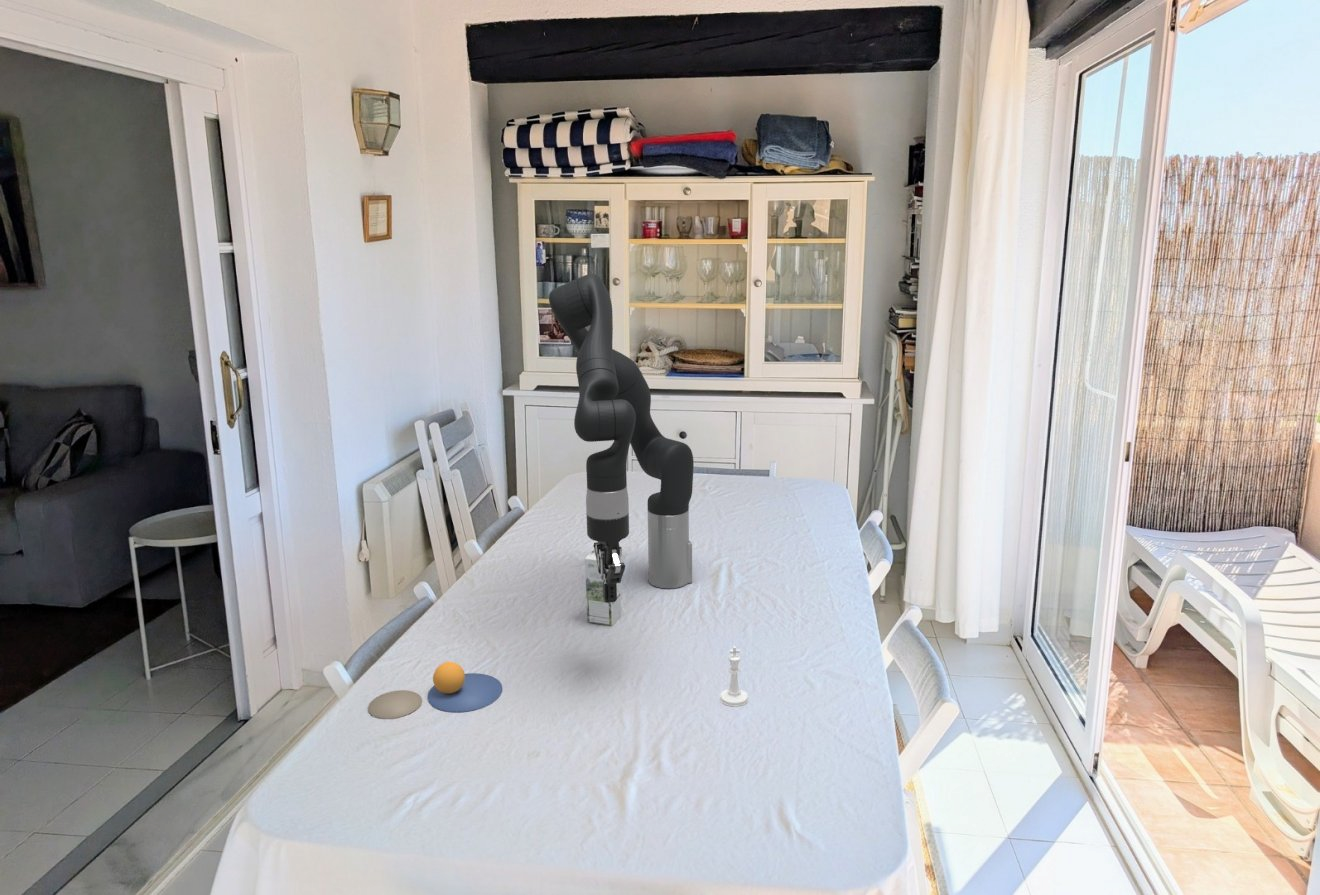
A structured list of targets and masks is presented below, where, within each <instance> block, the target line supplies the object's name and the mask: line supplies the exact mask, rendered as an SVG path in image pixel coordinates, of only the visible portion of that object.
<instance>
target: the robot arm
mask: <svg viewBox="0 0 1320 895" xmlns="http://www.w3.org/2000/svg"><path fill="white" fill-rule="evenodd" d="M548 302H549V305H550V309H551V311H552V313H553V316H554V317H555V319H556V321H557V322H558V323H559V325H560V327H561V329H562V330H563V332H564V333H565V335H566V336H567V337H568V339H569V340H570V342H571V343H572V345H573V346H574V347H575V349H576V351H577V352H578V353H577V358H576V363H575V369H576V370H575V371H576V376H577V377H576V378H577V383H578V391H579V392H578V393H579V394H578V395H579V396H578V401H577V402H578V403H577V405H576V410H575V415H574V420H573V421H574V430H575V431H574V432H576V435H577V436H578V437H579V439H581V440H582V441H585V442H587V443H589V442H590V443H594V442H596V443H597V442H609V441H610V442H611V441H613V442H612V444H611V445H610V447H608V448H606V449H604V450H600V451H597V452H595V453H591V454H590V455H589V456H588V457H587V458H586V464H585V466H586V468H585V469H586V493H585V494H586V495H585V496H586V497H585V508H586V509H585V510H586V535H587V537H588V538H589V539H590V540H592V541H595V542H593V545H592V546H593V548H594V549H593V550H595V555H596V560H597V565H598V572H599V574H601V579H602V581H603V598H604V600H605V602H607V603H609V602H615V601H616V600H617V583H622V579H623V576H624V573H625V570H626V564H625V562H622V561H621V560H622V559H621V558H622V556H623V549H622V546H620V542H621V541H622V540H625V539H627V537H628V536H629V534H630V517H629V516H630V515H629V514H630V513H629V512H630V511H629V510H630V509H629V508H630V507H629V506H630V505H629V504H630V502H629V493H628V485H627V482H628V481H627V479H628V478H627V463H628V462H627V461H628V460H627V459H628V454H629V449H630V446H631V448H632V451H633V453H634V455H635V458H636V460H637V462H638V464H639V466H640V468H641V469H642V471H643V472H644V473H645V474H646V475H647V476H649V477H652V478H654V479H656V480H660V491H658V492H655V493H652V494H651V495H649V497H648V498H647V504H646V505H647V552H648V553H647V554H648V555H647V556H648V557H647V560H648V563H647V564H648V572H647V573H648V582H649V584H650V585H652V586H654V587H656V588H660V589H677V588H682V587H684V586H686V585H688V584H691V583H693V543H692V542H691V541H690V510H689V509H690V502H691V498H692V495H693V485H694V466H695V465H694V455H693V452H692V449H691V448H690V447H691V446H689V445H688V444H687V443H685V442H683V441H678V440H676V439H675V440H674V439H671V438H667V437H665V436H664V435H663V434H662V433H661V432H660V430H659V428H658V427H657V425H656V424H655V422H654V420H653V418H652V416H651V404H652V395H651V394H652V393H651V390H650V387H649V385H648V382H647V381H646V379H645V377H644V375H643V373H642V371H641V369H640V367H639V366H638V365H637V364H636V362H635V361H634V360H633V359H631V358H630V357H629V356H627V355H625V354H623V353H621V352H619V351H617V349H616V350H615V349H614V348H613V338H614V337H613V334H614V333H613V331H614V330H613V329H614V328H613V327H614V325H613V324H614V322H613V315H614V314H613V306H612V304H613V303H612V300H611V296H610V293H609V291H608V288H607V287H606V285H605V283H604V281H603V279H601V277H600V276H599V275H597V274H595V273H588V274H584V275H582V276H580V277H578V278H575V279H573V280H571V281H568V282H566V283H565V284H562V285H559V286H557V287H555V288H554V289H552V290H551V291H550V292H549V294H548ZM587 327H589V329H586V328H587Z"/></svg>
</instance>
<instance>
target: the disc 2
mask: <svg viewBox="0 0 1320 895" xmlns="http://www.w3.org/2000/svg"><path fill="white" fill-rule="evenodd" d="M502 693H503V685H502V682H500V680H499V679H498V678H496V677H495V676H492V675H488V674H484V673H478V672H477V673H476V672H473V673H471V672H468V673H465V680H464V683H463V685H462V687H461V688H460V689H459V690H458V691H456V692H454V693H451V694H445V693H442V692H440V691H439V690H438V689H437V688H436V687H435V685H434V684H433V685H432V687H431V688H430V689H429V690H428V693H427V702H428V704H430V705H431V707H432V708H435V709H437V710H439V711H442V712H448V713H467V712H473V711H477V710H481V709H483V708H486V707H488V706H490V705H491V704H493V703H495V702H496V701H497V700H498V699H499V697H501V695H502Z"/></svg>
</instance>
